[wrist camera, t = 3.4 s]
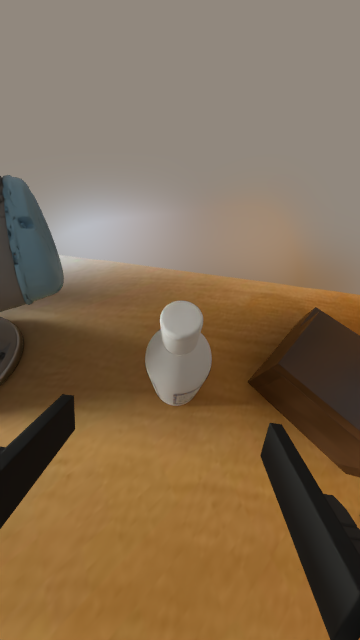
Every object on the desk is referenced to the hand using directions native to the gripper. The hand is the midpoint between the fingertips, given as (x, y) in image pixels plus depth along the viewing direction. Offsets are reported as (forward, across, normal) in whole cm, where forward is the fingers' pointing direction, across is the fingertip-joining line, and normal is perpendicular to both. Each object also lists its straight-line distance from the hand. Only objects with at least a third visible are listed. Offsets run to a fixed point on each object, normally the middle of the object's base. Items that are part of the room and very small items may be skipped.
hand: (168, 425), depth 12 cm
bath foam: (+16, 0, -7) cm, 18 cm away
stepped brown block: (+18, +23, -5) cm, 30 cm away
